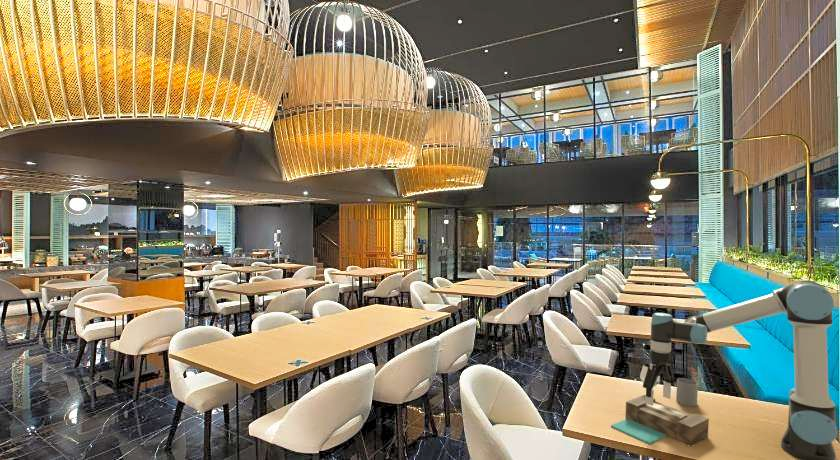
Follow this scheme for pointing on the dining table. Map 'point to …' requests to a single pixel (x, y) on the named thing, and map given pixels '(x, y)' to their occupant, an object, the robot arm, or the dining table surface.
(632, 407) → the cradle
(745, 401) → the dining table surface
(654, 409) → the tile
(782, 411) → the dining table surface
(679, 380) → the cup
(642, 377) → the wineglass
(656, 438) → the mat
